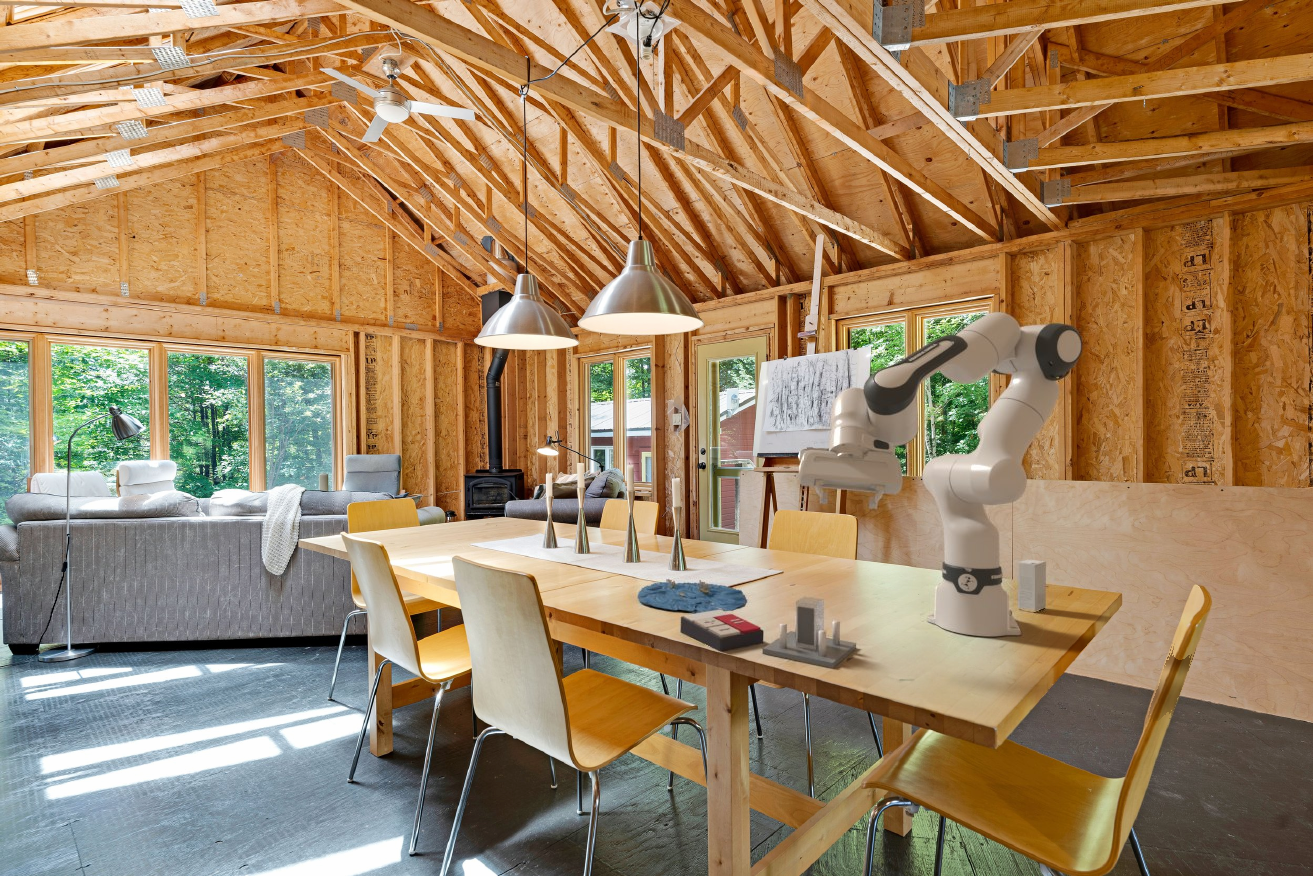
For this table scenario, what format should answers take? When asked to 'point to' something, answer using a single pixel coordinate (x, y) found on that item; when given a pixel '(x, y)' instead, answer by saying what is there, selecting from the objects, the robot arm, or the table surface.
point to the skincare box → (1032, 585)
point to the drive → (809, 622)
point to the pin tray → (824, 656)
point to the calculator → (721, 630)
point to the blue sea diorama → (691, 596)
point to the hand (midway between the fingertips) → (848, 504)
